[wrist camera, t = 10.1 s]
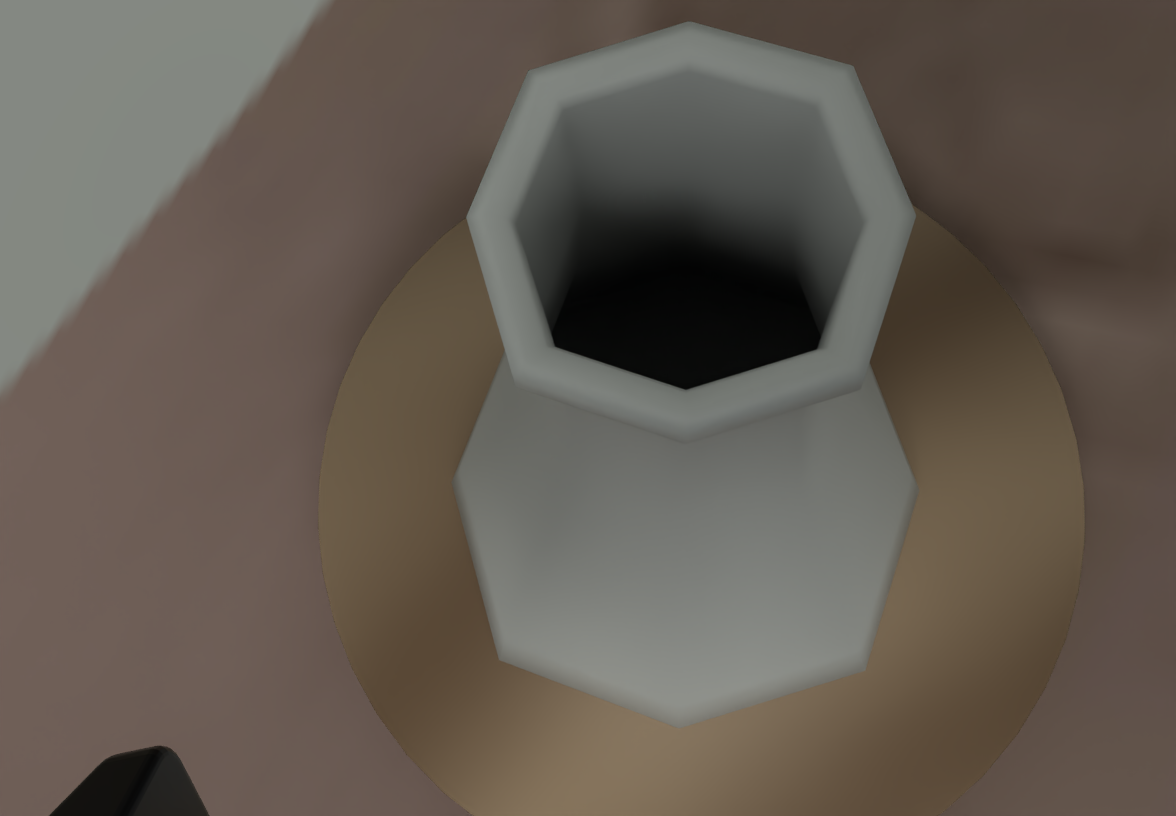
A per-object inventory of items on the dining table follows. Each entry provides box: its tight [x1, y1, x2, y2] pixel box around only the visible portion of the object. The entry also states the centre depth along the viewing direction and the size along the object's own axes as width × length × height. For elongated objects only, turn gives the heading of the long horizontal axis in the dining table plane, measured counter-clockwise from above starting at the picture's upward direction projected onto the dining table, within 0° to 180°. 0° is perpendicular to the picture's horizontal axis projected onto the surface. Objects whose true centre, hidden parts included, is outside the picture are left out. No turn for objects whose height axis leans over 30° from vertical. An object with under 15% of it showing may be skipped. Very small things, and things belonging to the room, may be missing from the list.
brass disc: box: [318, 205, 1085, 816], centre depth 18 cm, size 12×12×1 cm
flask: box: [451, 21, 919, 728], centre depth 13 cm, size 7×7×10 cm
